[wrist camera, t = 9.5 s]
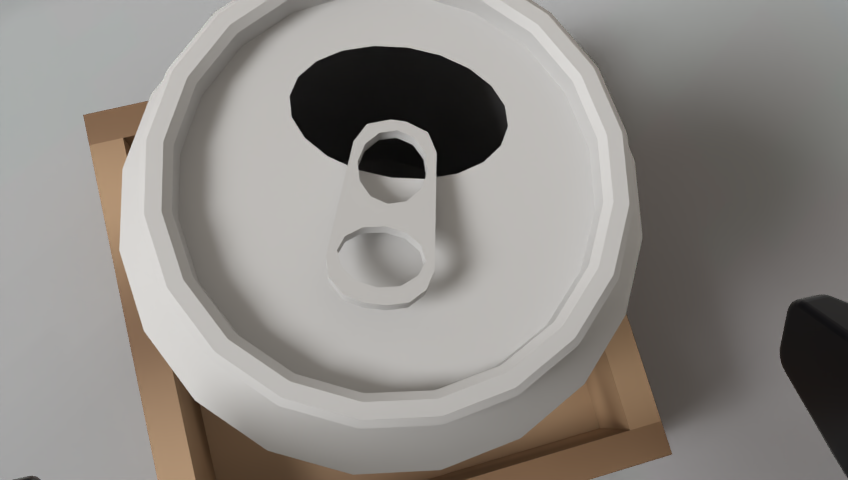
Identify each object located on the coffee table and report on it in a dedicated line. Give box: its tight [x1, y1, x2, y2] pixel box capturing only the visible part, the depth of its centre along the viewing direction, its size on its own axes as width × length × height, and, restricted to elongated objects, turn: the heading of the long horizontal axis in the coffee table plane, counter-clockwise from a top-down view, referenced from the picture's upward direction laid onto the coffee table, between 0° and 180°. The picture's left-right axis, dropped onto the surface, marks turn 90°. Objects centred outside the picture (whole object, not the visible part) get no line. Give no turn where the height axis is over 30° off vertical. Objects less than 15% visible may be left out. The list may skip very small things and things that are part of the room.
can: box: [119, 0, 643, 475], centre depth 15 cm, size 8×8×12 cm
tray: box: [83, 101, 672, 480], centre depth 20 cm, size 12×12×3 cm
